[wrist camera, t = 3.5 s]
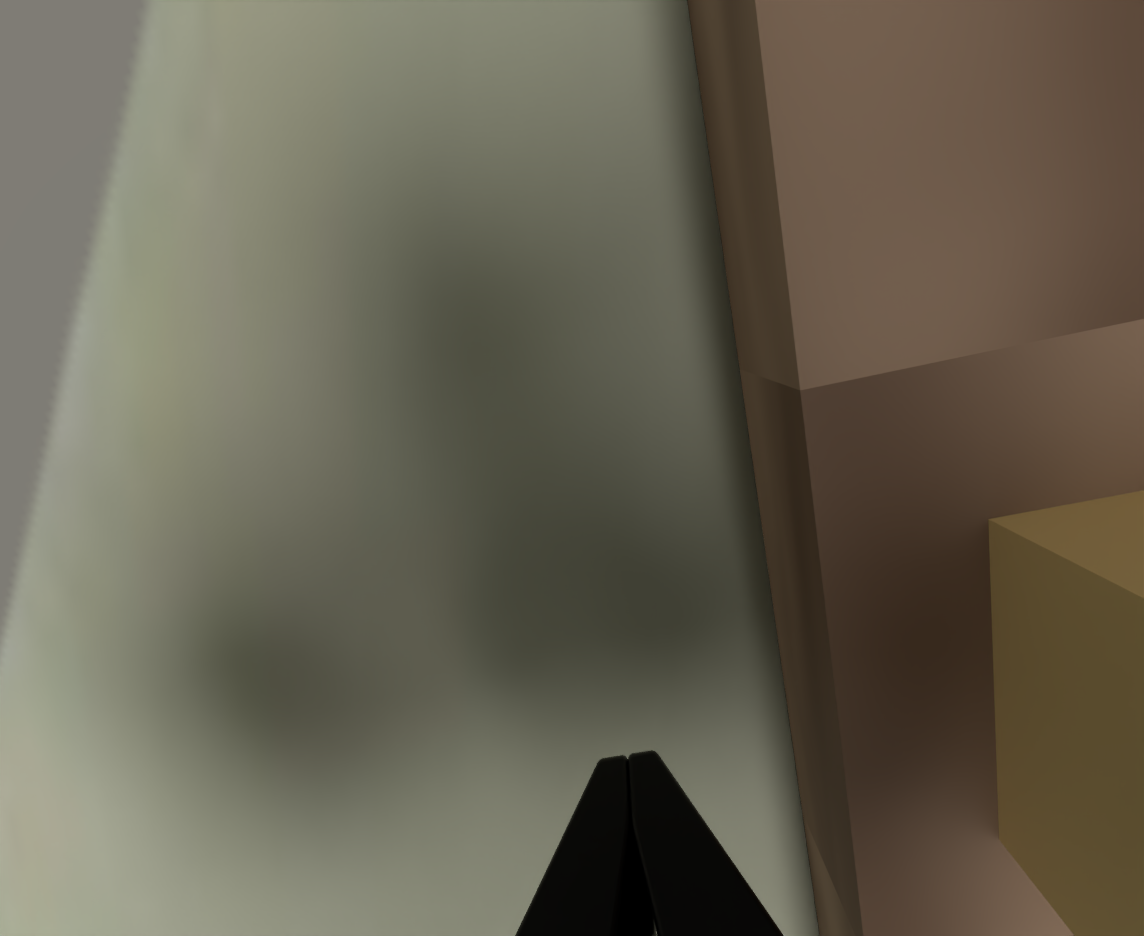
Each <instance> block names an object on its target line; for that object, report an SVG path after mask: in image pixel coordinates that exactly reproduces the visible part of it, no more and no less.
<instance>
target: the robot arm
mask: <svg viewBox="0 0 1144 936" xmlns="http://www.w3.org/2000/svg"><path fill="white" fill-rule="evenodd" d="M656 931H657V935H656ZM515 936H784V935H783V934H782V933H781V931H780V930H779V928H778V927H777V925H776V924H775V922H774V921H773V919H772V918H771V917H770V915H769V914H768V912H767V911H766V909H765V908H764V906H763V905H762V904H761V902H760V901H759V899H758V898H757V896H756V895H755V893H754V892H753V891H752V889H751V888H750V886H749V885H748V883H747V882H746V880H745V879H744V878H743V876H742V875H741V873H740V872H739V870H738V869H737V867H736V866H735V865H734V863H733V862H732V860H731V859H730V857H729V856H728V854H727V853H726V852H725V850H724V849H723V847H722V846H721V844H720V843H719V841H718V840H717V839H716V837H715V836H714V834H713V833H712V831H711V830H710V828H709V827H708V826H707V824H706V823H705V821H704V820H703V818H702V817H701V815H700V814H699V813H698V811H697V810H696V808H695V807H694V805H693V804H692V802H691V801H690V800H689V798H688V797H687V795H686V794H685V792H684V791H683V789H682V788H681V786H680V785H679V784H678V782H677V781H676V779H675V778H674V776H673V775H672V773H671V772H670V771H669V769H668V768H667V766H666V765H665V763H664V762H663V760H662V759H661V758H660V756H659V755H658V754H657V753H656V752H655V751H653V750H651V751H645V752H638V753H632V754H630V755H629V757H628V759H627V757H626V756H624V755H620V756H614V757H608V758H602V759H600V760H599V761H598V763H597V765H596V767H595V769H594V771H593V773H592V775H591V778H590V780H589V782H588V784H587V786H586V788H585V790H584V792H583V794H582V796H581V799H580V801H579V803H578V805H577V807H576V809H575V811H574V813H573V815H572V817H571V820H570V822H569V824H568V826H567V828H566V830H565V832H564V834H563V836H562V839H561V841H560V843H559V845H558V847H557V849H556V851H555V853H554V855H553V857H552V860H551V862H550V864H549V866H548V868H547V870H546V872H545V874H544V876H543V878H542V881H541V883H540V885H539V887H538V889H537V891H536V893H535V895H534V897H533V900H532V902H531V904H530V906H529V908H528V910H527V912H526V914H525V916H524V918H523V921H522V923H521V925H520V927H519V929H518V931H517V933H516V935H515Z"/></svg>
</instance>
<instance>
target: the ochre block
mask: <svg viewBox="0 0 1144 936" xmlns="http://www.w3.org/2000/svg"><path fill="white" fill-rule="evenodd" d="M988 523H989V553H990V583H991V613H992V642H993V672H994V702H995V732H996V762H997V792H998V822H999V840H1000V841H1001V843H1002V844H1003V845H1004V846H1005V848H1006V849H1007V850H1008V852H1009V853H1010V854H1011V855H1012V857H1013V858H1014V859H1015V860H1016V862H1017V863H1018V864H1019V866H1020V867H1021V868H1022V869H1023V871H1024V872H1025V873H1026V874H1027V876H1028V877H1029V878H1030V880H1031V881H1032V882H1033V883H1034V885H1035V886H1036V887H1037V889H1038V890H1039V891H1040V892H1041V894H1042V895H1043V896H1044V897H1045V899H1046V900H1047V901H1048V903H1049V904H1050V905H1051V906H1052V908H1053V909H1054V910H1055V911H1056V913H1057V914H1058V915H1059V917H1060V918H1061V919H1062V920H1063V922H1064V923H1065V924H1066V925H1067V927H1068V928H1069V929H1070V931H1071V932H1072V933H1073V934H1074V936H1144V491H1138V492H1133V493H1127V494H1122V495H1117V496H1111V497H1106V498H1100V499H1095V500H1090V501H1084V502H1079V503H1073V504H1068V505H1063V506H1057V507H1052V508H1046V509H1041V510H1036V511H1030V512H1025V513H1019V514H1014V515H1009V516H1003V517H998V518H992V519H988Z"/></svg>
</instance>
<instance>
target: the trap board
mask: <svg viewBox="0 0 1144 936" xmlns="http://www.w3.org/2000/svg"><path fill="white" fill-rule="evenodd" d="M687 1H688V8H689V15H690V22H691V29H692V36H693V44H694V51H695V58H696V65H697V72H698V79H699V86H700V93H701V100H702V107H703V114H704V121H705V128H706V135H707V142H708V149H709V157H710V164H711V171H712V178H713V185H714V192H715V199H716V206H717V213H718V220H719V227H720V234H721V241H722V248H723V255H724V263H725V270H726V277H727V284H728V291H729V298H730V305H731V312H732V319H733V326H734V333H735V340H736V347H737V354H738V361H739V368H740V376H741V383H742V390H743V397H744V404H745V411H746V418H747V425H748V432H749V439H750V446H751V453H752V460H753V467H754V474H755V481H756V489H757V496H758V503H759V510H760V517H761V524H762V531H763V538H764V545H765V552H766V559H767V566H768V573H769V580H770V587H771V594H772V602H773V609H774V616H775V623H776V630H777V637H778V644H779V651H780V658H781V665H782V672H783V679H784V686H785V693H786V700H787V708H788V715H789V722H790V729H791V736H792V743H793V750H794V757H795V764H796V771H797V778H798V785H799V792H800V799H801V806H802V813H803V821H804V828H805V835H806V842H807V849H808V856H809V863H810V870H811V877H812V884H813V891H814V898H815V905H816V912H817V919H818V926H819V934H820V936H1074V934H1073V933H1072V932H1071V931H1070V929H1069V928H1068V927H1067V925H1066V924H1065V923H1064V922H1063V920H1062V919H1061V918H1060V917H1059V915H1058V914H1057V913H1056V911H1055V910H1054V909H1053V908H1052V906H1051V905H1050V904H1049V903H1048V901H1047V900H1046V899H1045V897H1044V896H1043V895H1042V894H1041V892H1040V891H1039V890H1038V889H1037V887H1036V886H1035V885H1034V883H1033V882H1032V881H1031V880H1030V878H1029V877H1028V876H1027V874H1026V873H1025V872H1024V871H1023V869H1022V868H1021V867H1020V866H1019V864H1018V863H1017V862H1016V860H1015V859H1014V858H1013V857H1012V855H1011V854H1010V853H1009V852H1008V850H1007V849H1006V848H1005V846H1004V845H1003V844H1002V843H1001V841H1000V840H999V822H998V792H997V762H996V732H995V702H994V672H993V642H992V613H991V583H990V553H989V523H988V519H992V518H998V517H1003V516H1009V515H1014V514H1019V513H1025V512H1030V511H1036V510H1041V509H1046V508H1052V507H1057V506H1063V505H1068V504H1073V503H1079V502H1084V501H1090V500H1095V499H1100V498H1106V497H1111V496H1117V495H1122V494H1127V493H1133V492H1138V491H1144V0H687Z"/></svg>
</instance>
